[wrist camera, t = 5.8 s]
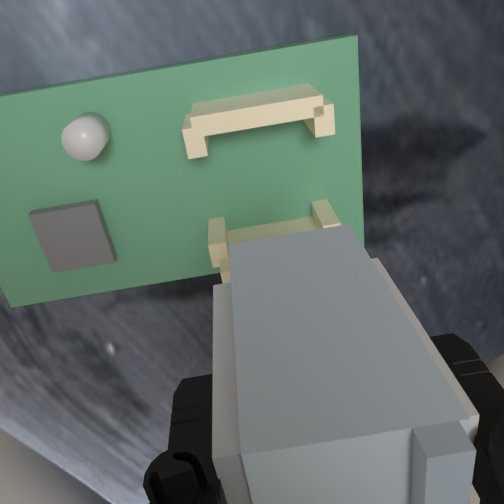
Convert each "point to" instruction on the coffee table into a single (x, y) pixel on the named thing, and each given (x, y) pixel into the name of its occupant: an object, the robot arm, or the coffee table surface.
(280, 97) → the board
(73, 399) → the coffee table surface
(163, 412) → the coffee table surface
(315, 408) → the plug
